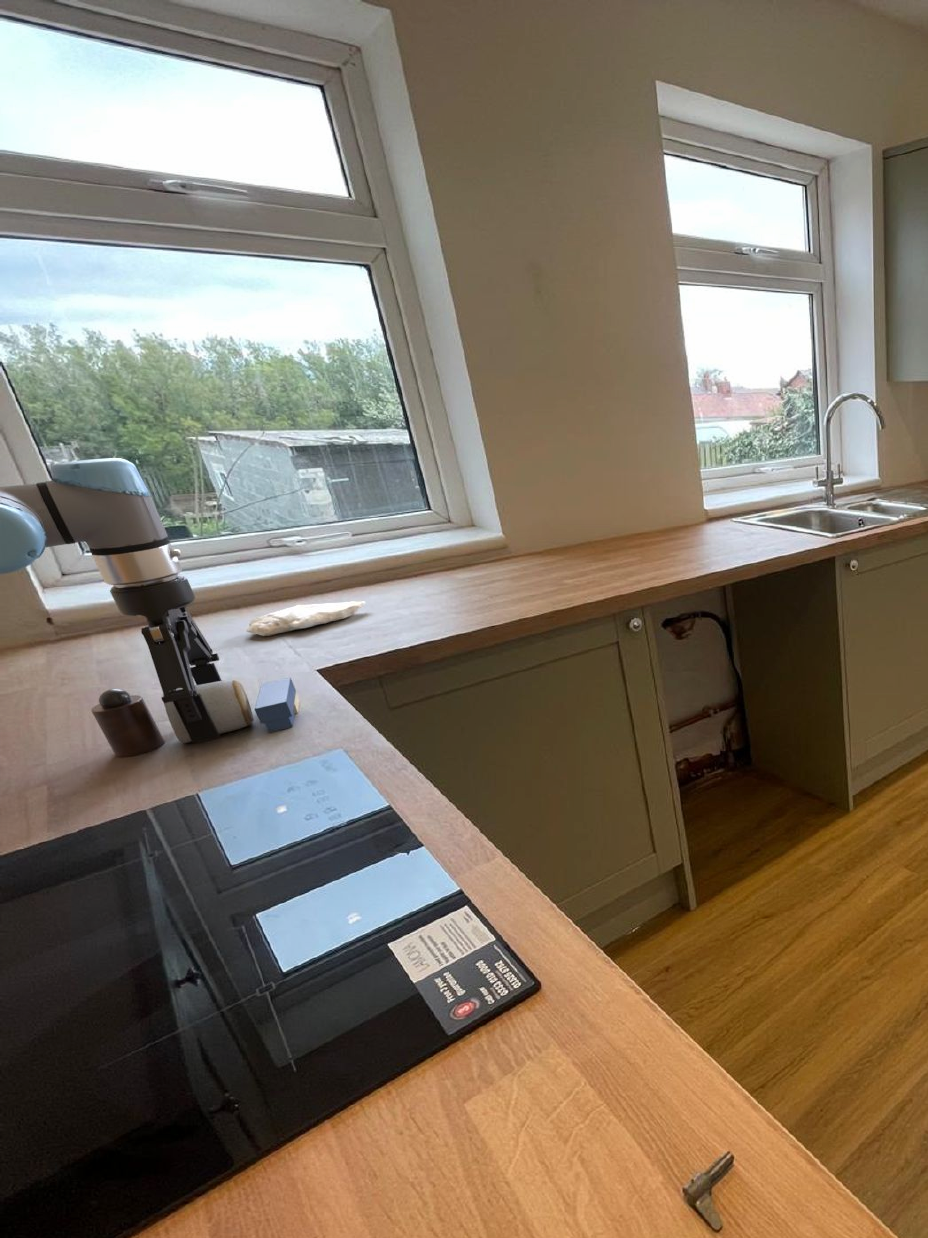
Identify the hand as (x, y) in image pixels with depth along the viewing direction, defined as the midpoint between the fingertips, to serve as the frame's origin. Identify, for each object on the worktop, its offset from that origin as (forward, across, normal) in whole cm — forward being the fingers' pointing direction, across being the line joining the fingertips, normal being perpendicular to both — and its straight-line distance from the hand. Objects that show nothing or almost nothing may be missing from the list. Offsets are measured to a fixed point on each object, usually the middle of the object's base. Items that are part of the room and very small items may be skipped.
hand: (213, 721), depth 103 cm
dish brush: (+1, -1, -8) cm, 8 cm away
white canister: (+1, 0, 0) cm, 1 cm away
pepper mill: (+1, 0, +8) cm, 8 cm away
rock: (+1, +50, -10) cm, 51 cm away
